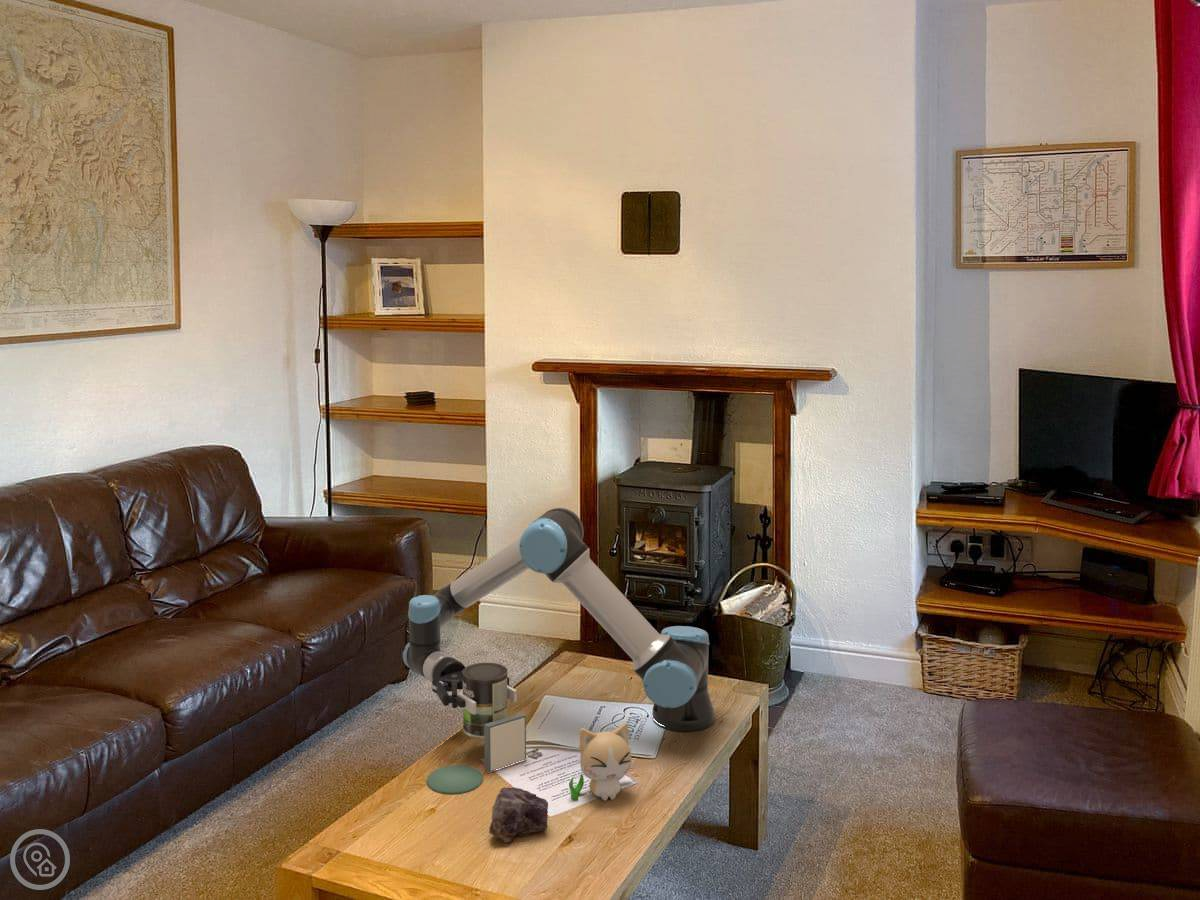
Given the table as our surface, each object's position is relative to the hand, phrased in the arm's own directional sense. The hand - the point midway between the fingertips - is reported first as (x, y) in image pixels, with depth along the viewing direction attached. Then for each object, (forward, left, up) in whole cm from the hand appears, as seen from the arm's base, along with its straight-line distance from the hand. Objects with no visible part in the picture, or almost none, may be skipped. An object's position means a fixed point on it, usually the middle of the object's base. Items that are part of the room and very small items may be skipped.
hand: (495, 702), depth 250 cm
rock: (-24, +20, -14) cm, 34 cm away
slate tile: (-3, +1, -14) cm, 14 cm away
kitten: (-28, -2, -14) cm, 32 cm away
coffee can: (+4, -1, -8) cm, 9 cm away
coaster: (+1, +13, -14) cm, 19 cm away
